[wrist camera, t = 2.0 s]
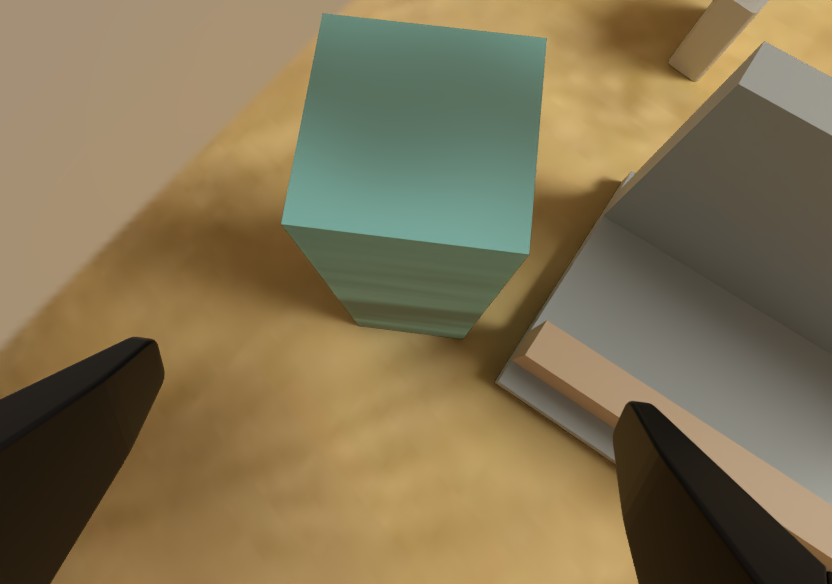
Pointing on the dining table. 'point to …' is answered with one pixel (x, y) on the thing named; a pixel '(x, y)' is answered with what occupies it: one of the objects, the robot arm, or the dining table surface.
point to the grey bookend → (711, 297)
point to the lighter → (713, 35)
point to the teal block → (416, 169)
